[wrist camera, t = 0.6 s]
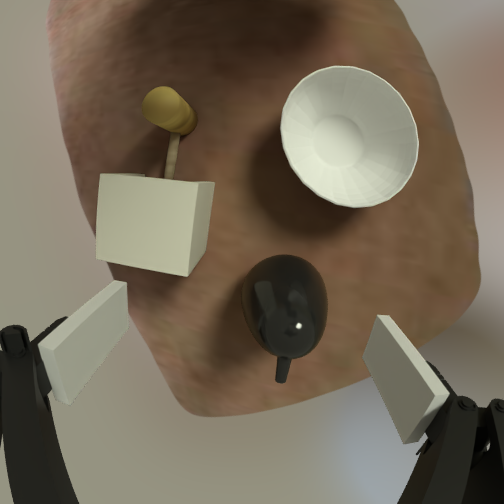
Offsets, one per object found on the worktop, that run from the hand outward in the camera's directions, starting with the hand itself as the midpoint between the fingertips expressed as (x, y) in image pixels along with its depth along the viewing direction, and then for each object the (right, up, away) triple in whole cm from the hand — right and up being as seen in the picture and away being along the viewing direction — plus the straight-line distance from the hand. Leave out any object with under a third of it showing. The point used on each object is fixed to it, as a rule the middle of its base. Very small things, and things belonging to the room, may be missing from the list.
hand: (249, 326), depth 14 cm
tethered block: (-10, +14, +21) cm, 27 cm away
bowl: (+11, +18, +20) cm, 29 cm away
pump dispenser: (+4, -1, +25) cm, 25 cm away
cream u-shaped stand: (-11, +9, +22) cm, 26 cm away
